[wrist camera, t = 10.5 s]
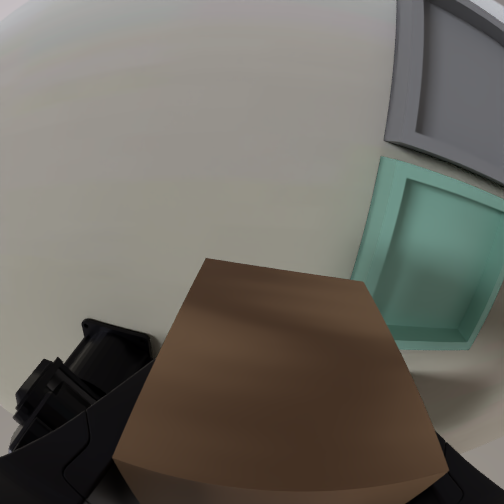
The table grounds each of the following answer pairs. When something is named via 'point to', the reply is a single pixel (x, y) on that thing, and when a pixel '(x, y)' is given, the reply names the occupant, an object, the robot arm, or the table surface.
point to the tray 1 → (449, 85)
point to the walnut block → (278, 399)
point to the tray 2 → (431, 256)
